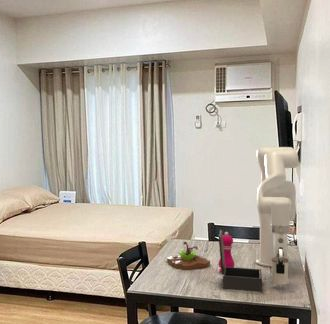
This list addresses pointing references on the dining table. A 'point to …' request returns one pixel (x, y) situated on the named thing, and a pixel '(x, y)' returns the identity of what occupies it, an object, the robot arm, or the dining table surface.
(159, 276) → the dining table surface
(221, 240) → the lid
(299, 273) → the dining table surface
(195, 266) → the plant
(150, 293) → the dining table surface
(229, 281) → the dark grey open box
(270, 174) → the robot arm
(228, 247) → the pepper mill
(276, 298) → the dining table surface
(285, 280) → the canister
